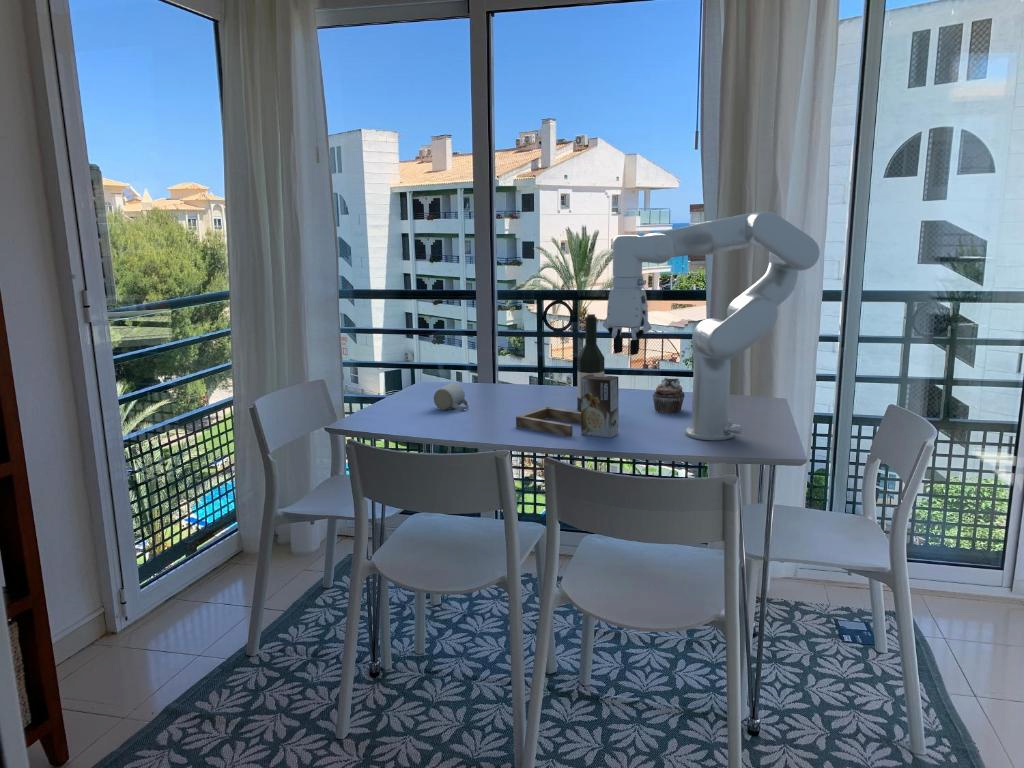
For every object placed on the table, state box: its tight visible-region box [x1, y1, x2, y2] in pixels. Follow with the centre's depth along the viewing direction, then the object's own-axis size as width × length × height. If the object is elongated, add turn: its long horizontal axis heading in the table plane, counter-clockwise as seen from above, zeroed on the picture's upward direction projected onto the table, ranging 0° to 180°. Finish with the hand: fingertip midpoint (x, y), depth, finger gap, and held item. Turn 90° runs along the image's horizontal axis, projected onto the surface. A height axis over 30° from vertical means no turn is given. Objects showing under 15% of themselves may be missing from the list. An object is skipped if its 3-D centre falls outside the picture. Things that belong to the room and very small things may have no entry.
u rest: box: [515, 406, 581, 437], centre depth 214 cm, size 18×15×3 cm
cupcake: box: [652, 377, 686, 414], centre depth 229 cm, size 10×10×10 cm
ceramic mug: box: [433, 382, 470, 411], centre depth 237 cm, size 11×8×8 cm
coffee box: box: [580, 374, 619, 439], centre depth 204 cm, size 9×6×16 cm
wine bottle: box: [576, 313, 605, 412], centre depth 230 cm, size 8×8×30 cm
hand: (626, 352), depth 196 cm, fingers open, 4 cm apart
